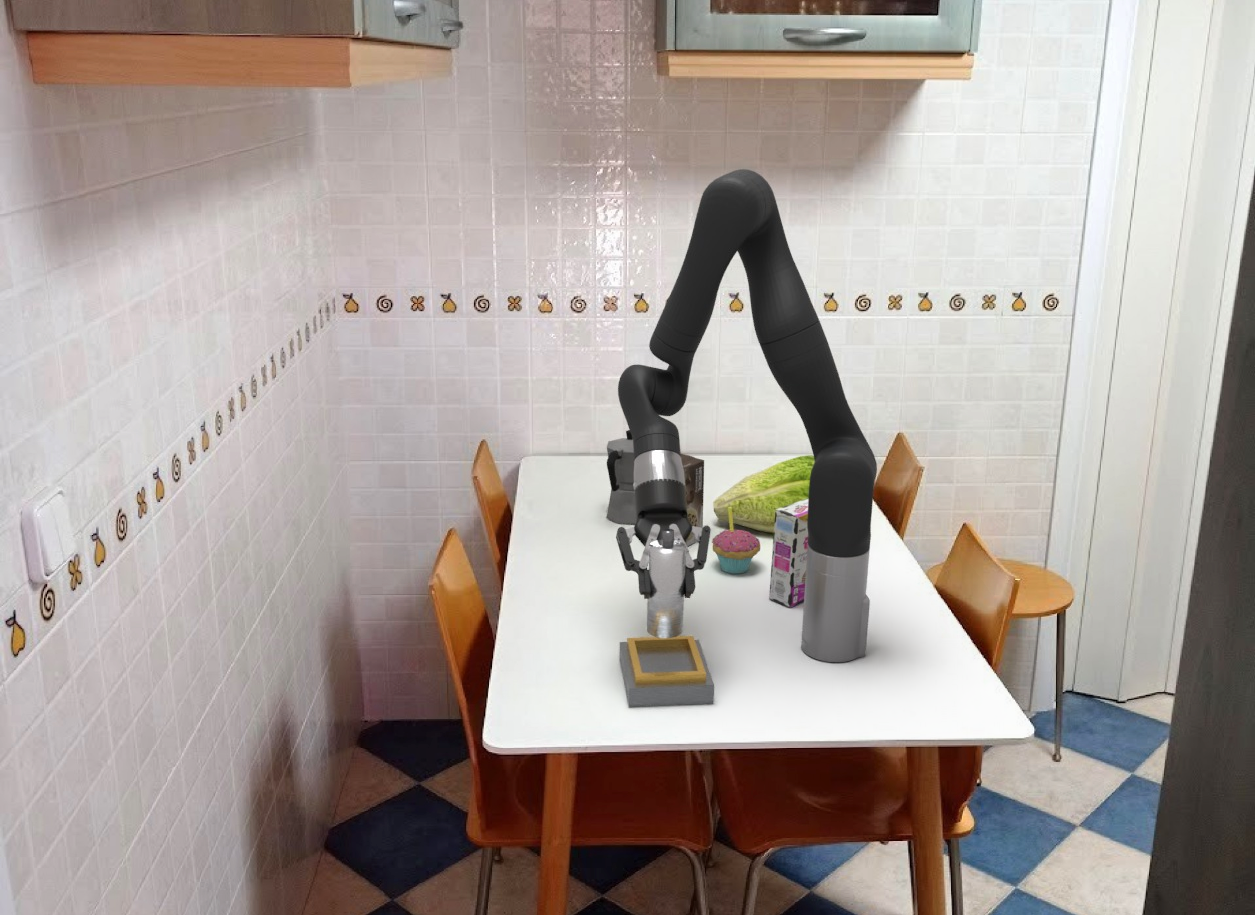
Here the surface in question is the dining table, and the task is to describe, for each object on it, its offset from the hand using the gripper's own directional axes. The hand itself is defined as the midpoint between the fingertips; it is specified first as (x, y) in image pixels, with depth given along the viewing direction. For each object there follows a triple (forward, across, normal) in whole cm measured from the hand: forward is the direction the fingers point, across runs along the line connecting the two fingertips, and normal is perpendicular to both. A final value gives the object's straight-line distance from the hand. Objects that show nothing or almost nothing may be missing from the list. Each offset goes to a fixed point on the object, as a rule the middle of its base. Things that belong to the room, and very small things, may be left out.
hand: (667, 596), depth 170 cm
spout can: (+3, 0, +6) cm, 6 cm away
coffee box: (-28, +9, +49) cm, 57 cm away
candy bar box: (-11, +27, +31) cm, 43 cm away
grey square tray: (+9, 0, +11) cm, 15 cm away
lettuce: (-33, +30, +54) cm, 70 cm away
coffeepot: (-37, +2, +58) cm, 69 cm away
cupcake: (-19, +18, +40) cm, 48 cm away
